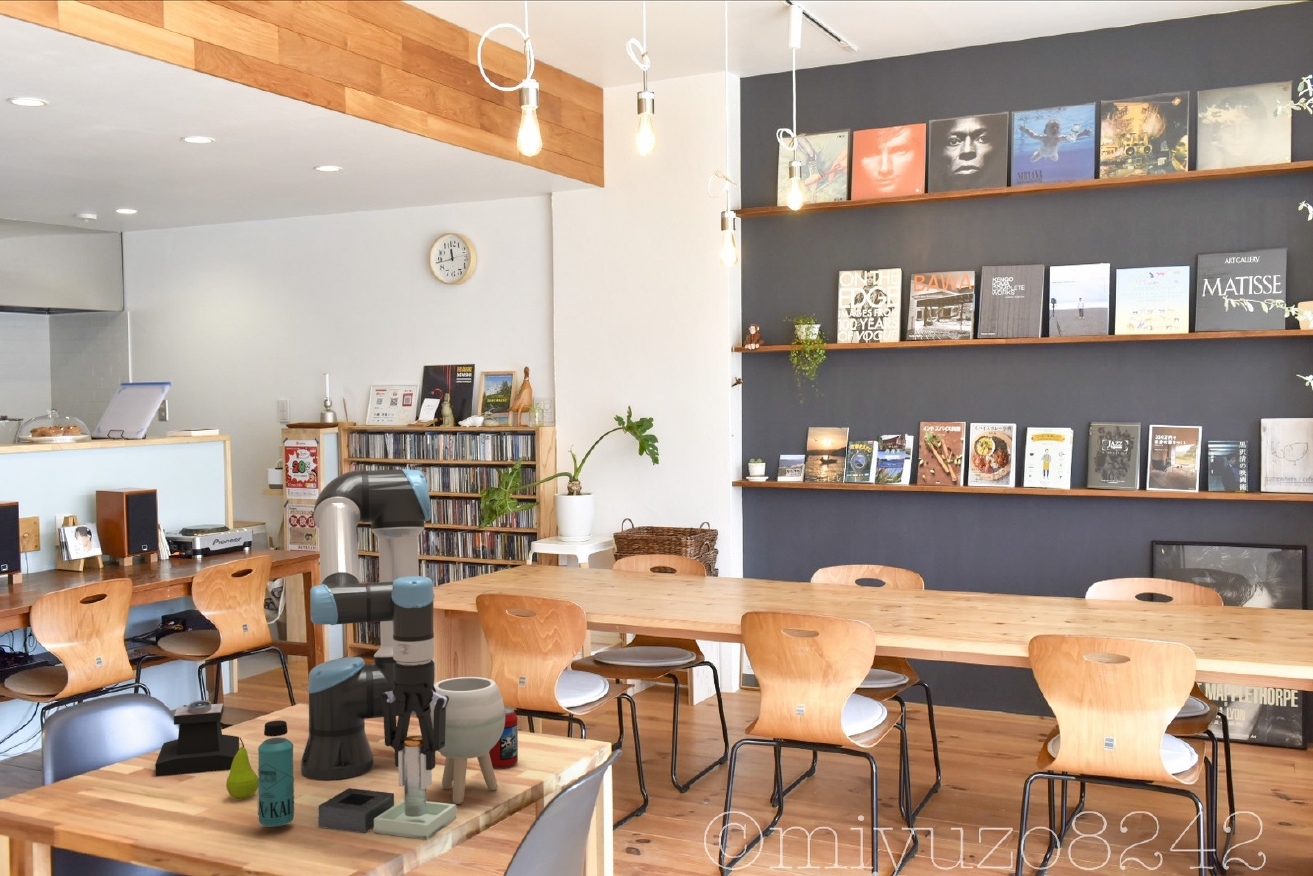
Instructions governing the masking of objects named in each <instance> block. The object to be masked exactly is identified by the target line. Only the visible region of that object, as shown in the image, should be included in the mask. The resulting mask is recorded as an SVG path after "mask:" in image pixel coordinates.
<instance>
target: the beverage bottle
mask: <svg viewBox="0 0 1313 876" xmlns="http://www.w3.org/2000/svg"><path fill="white" fill-rule="evenodd" d="M288 733H289V732H288V724H287V721H285V720H280V719H279V720H271V721H268V722H266V723H264V730H263V735H264V736H266V737H270V738H267V739H265V740H264V741H262V743H260V744H259V745H258V747H257V751H258V768H257V774H258V775H257V777H258V789H257V794H258V810H257V819H258V823H259V825H260V826H262V827H269V828H270V827H271V828H274V827H280V826H284V825H287V824H290V823H291V822H292V821H293V820H294V816H295V812H296V811H295V784H294V783H295V777H294V744H293V742H292V741H290V740H289V739H288V738H286V737H282V736H285V735H286V734H288Z"/></svg>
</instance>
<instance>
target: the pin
mask: <svg viewBox="0 0 1313 876" xmlns="http://www.w3.org/2000/svg"><path fill="white" fill-rule="evenodd" d="M423 751H424V746H423V741H422V736H421V734H420V735H418V734H417V735H410V736H409V735H407V737H406V738H404V786H403V787H404V788H403V789H404V793H403V794H404V795H403V796H404V798H403V800H404V801H405V815H406V816H409V817H417V816H422V815H424V814H426V812H427V807H426V801H427V788H425V789H421V753H422V752H423Z"/></svg>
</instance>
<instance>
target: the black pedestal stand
mask: <svg viewBox="0 0 1313 876" xmlns="http://www.w3.org/2000/svg"><path fill="white" fill-rule="evenodd" d="M175 709H176V710H175V712H174V714H173V725H179V726H178V734H177V735H178V736H177V739H176V738H175V739H173V740H170V741H166V742H163V744H162V746H161V747H160V751H159V754H158V756H157V759H156V761H155V764H154V769H155V771H154V773H155V777H156V778H157V777H168V776H176V775H177V776H179V775H188V774H189V775H190V774H199V773H211V772H220V771H221V772H223V771H230V769H231V765H232V762H233V759H234V757H235V755H236V753H237V752H238V750H239V749H240V739H239V738H240V736H236V735H230V734H223V731H222V724H221V720H222V716H223V713H224V703H214V704H213V703H212V702H211V701H210V700H205V699H203V700H202V699H200V700H194V701H192V702H190V703H189V704H187V705H186V704H184V705H183V706H177V708H175Z"/></svg>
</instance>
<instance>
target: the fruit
mask: <svg viewBox="0 0 1313 876" xmlns="http://www.w3.org/2000/svg"><path fill="white" fill-rule="evenodd" d="M239 741H240V742H241V745H242V746H241V747H240V746H239V750H238V752H237V753H236V755H235V757H234V759H233V762H232V765H231V769H230V770H229V774H228V776H227V779H226V790H227V792H228V794H229V796H230V797H231V798H233V799H235V800H239V801H240V800H244V799H248V798H250V797H251V796H253V795H254V794H255V793H256V792H258V777H257V776H258V775H257V773H256V772H255V771H254V769H253V768H252V766H251V765H252V764H251V763H250V761H249V755H248V751H247V748H246V747H245V744H244V741H243V739H242V738H241V737H239Z"/></svg>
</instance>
